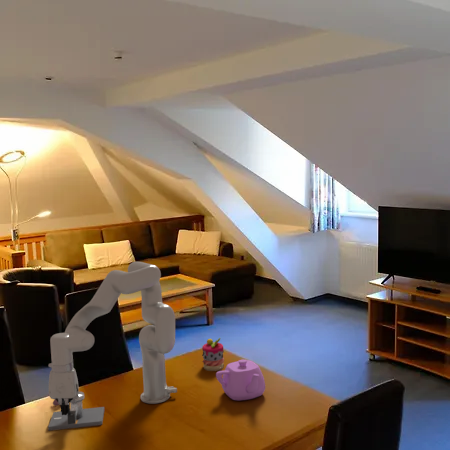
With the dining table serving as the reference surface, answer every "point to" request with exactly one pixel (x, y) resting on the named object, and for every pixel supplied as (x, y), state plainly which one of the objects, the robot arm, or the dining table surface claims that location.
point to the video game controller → (55, 403)
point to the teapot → (242, 380)
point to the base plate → (77, 419)
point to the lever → (75, 409)
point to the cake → (213, 355)
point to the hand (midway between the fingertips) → (65, 413)
